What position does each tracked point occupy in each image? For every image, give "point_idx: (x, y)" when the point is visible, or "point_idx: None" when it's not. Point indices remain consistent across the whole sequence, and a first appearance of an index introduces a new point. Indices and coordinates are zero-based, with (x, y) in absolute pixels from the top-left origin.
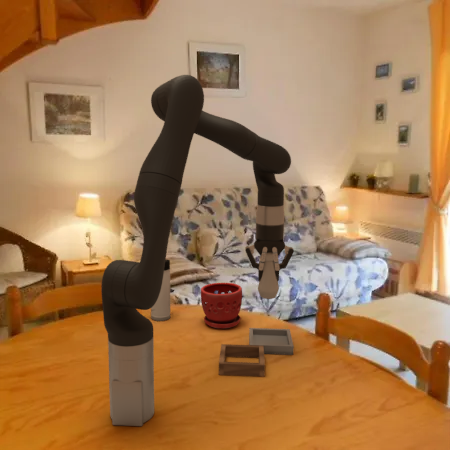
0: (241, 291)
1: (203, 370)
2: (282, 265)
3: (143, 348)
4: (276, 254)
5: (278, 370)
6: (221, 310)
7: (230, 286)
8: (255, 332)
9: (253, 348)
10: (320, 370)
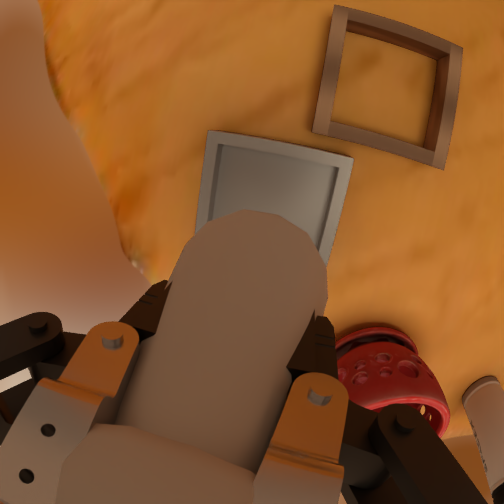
0: None
1: (481, 88)
2: (43, 340)
3: None
4: (1, 478)
5: (284, 42)
6: (402, 357)
7: None
8: None
9: (348, 125)
10: (169, 42)
